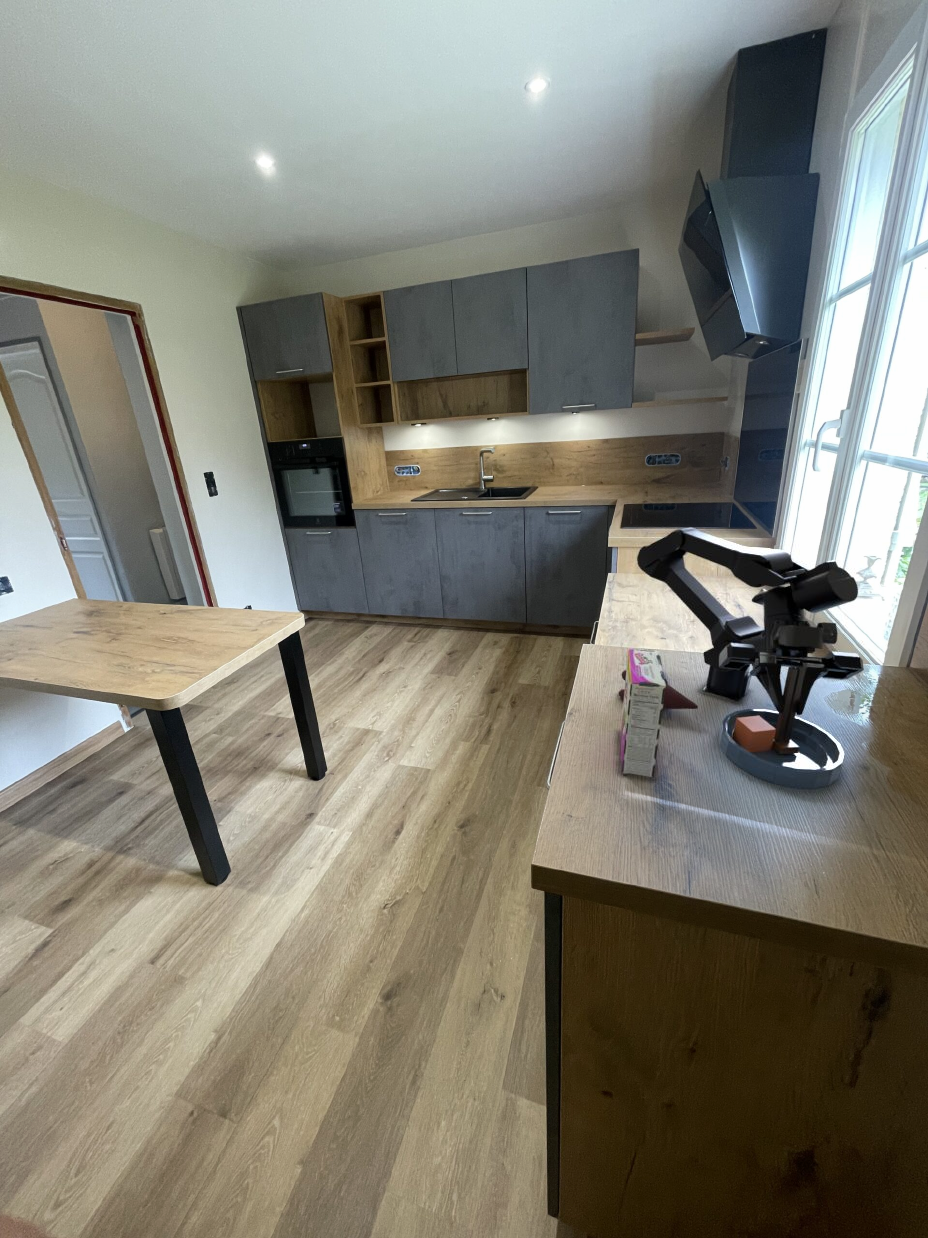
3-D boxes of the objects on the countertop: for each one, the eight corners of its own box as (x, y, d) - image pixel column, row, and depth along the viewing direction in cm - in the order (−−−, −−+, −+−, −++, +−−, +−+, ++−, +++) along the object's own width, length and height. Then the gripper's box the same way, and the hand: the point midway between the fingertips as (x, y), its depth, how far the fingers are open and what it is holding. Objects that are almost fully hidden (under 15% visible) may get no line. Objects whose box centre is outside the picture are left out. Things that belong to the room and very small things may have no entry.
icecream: (709, 685, 86) (632, 664, 97) (691, 690, 81) (612, 667, 92) (703, 722, 87) (627, 697, 98) (684, 729, 82) (607, 702, 93)
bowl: (705, 759, 77) (708, 741, 76) (734, 715, 88) (738, 698, 87) (829, 808, 67) (835, 788, 65) (844, 751, 78) (850, 733, 76)
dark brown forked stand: (763, 740, 80) (778, 662, 75) (781, 739, 80) (797, 661, 75) (779, 754, 76) (796, 674, 72) (798, 753, 76) (816, 673, 72)
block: (732, 738, 81) (736, 717, 79) (754, 735, 81) (758, 715, 80) (748, 753, 77) (752, 732, 76) (771, 750, 78) (776, 729, 76)
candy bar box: (618, 733, 84) (627, 647, 78) (649, 737, 83) (660, 650, 77) (619, 775, 74) (630, 681, 68) (654, 780, 73) (668, 685, 67)
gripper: (736, 596, 76) (738, 693, 70) (877, 605, 71) (892, 710, 65) (717, 623, 86) (718, 710, 80) (840, 632, 81) (850, 725, 75)
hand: (790, 713), depth 75 cm, fingers closed on dark brown forked stand, 2 cm apart
